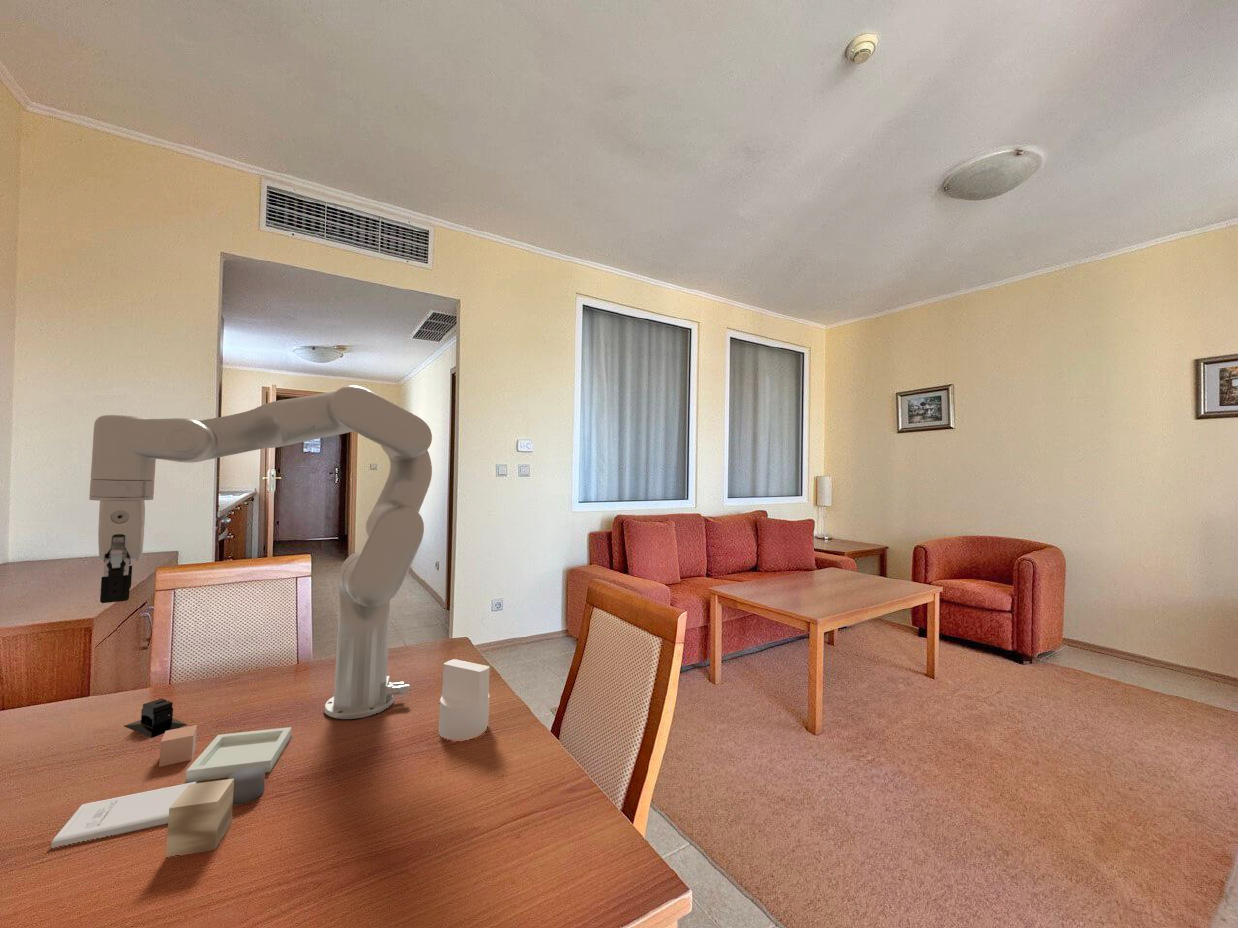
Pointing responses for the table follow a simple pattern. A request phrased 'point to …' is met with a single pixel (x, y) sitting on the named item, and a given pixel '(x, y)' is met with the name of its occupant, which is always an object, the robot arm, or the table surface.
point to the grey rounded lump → (248, 784)
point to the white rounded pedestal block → (464, 700)
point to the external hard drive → (119, 815)
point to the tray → (239, 753)
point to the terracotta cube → (178, 745)
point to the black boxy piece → (156, 719)
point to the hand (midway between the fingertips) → (116, 595)
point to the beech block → (200, 817)
